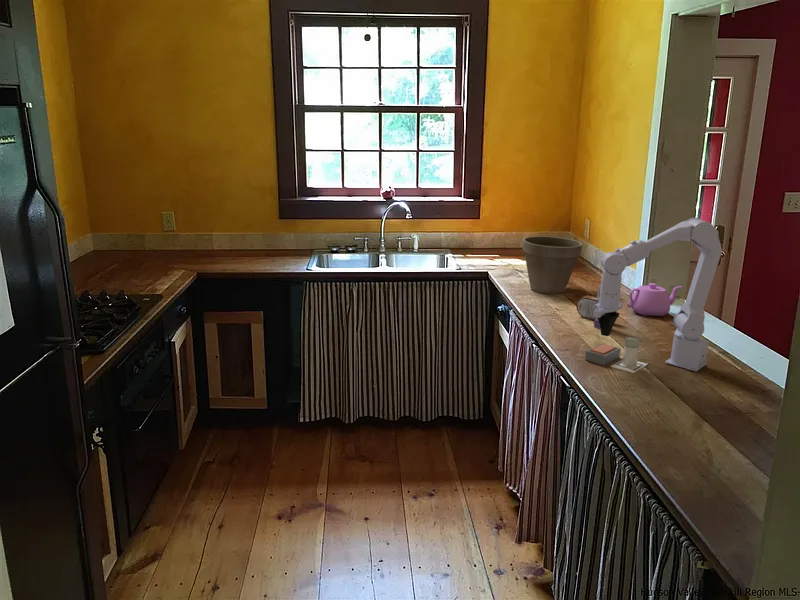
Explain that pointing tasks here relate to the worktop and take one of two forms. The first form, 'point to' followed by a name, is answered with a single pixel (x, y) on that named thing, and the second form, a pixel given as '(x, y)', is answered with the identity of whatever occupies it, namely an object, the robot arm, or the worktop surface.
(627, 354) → the marker
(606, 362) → the button housing
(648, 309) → the teapot
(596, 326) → the container
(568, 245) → the plant pot
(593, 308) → the tin
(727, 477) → the worktop surface
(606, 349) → the button
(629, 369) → the paper sheet
